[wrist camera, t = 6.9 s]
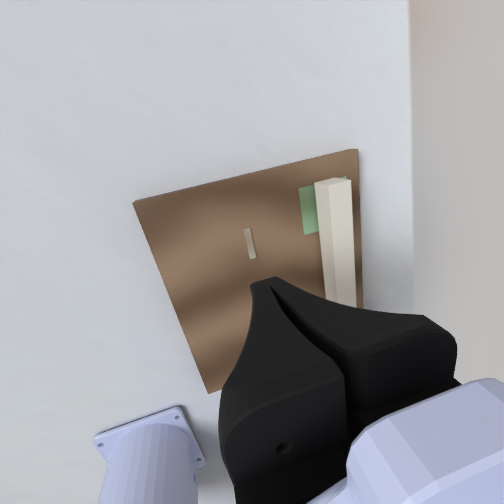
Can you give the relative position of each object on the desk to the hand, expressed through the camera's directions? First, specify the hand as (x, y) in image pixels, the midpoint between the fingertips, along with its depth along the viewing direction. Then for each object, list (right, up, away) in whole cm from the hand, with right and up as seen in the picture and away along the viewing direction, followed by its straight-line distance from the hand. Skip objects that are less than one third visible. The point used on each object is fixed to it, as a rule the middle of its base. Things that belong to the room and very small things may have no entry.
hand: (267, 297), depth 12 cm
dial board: (+1, 0, +10) cm, 10 cm away
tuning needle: (+6, +1, +9) cm, 11 cm away
